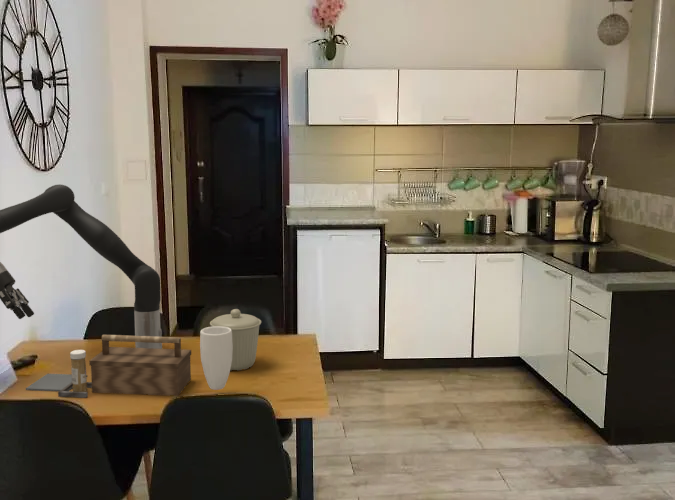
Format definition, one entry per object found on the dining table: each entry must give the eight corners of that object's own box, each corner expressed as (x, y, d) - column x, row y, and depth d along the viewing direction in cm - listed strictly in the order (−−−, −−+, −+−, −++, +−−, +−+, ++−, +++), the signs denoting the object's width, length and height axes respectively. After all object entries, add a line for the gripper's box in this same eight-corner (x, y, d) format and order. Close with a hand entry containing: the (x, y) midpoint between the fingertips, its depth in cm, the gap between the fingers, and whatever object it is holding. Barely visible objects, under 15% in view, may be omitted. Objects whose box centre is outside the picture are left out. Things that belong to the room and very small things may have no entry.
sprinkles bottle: (89, 392, 212) (87, 352, 209) (74, 395, 209) (71, 354, 207) (85, 388, 215) (83, 348, 213) (70, 390, 213) (68, 350, 211)
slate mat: (25, 390, 213) (25, 388, 213) (47, 375, 227) (47, 373, 227) (68, 391, 212) (67, 390, 212) (87, 376, 226) (87, 375, 226)
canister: (271, 366, 239) (271, 309, 236) (231, 378, 226) (231, 318, 223) (240, 355, 251) (239, 300, 248) (200, 366, 238) (199, 309, 235)
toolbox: (58, 396, 208) (55, 344, 205) (85, 375, 227) (83, 327, 224) (174, 401, 205) (172, 348, 203) (191, 380, 224) (190, 331, 221)
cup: (205, 404, 203) (204, 336, 200) (196, 393, 213) (195, 327, 209) (238, 398, 208) (237, 332, 205) (227, 388, 217) (226, 324, 214)
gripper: (-2, 269, 208) (29, 311, 209) (14, 269, 222) (44, 308, 223) (-23, 284, 207) (9, 325, 208) (-5, 283, 221) (25, 322, 222)
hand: (27, 316), depth 215 cm, fingers open, 8 cm apart
